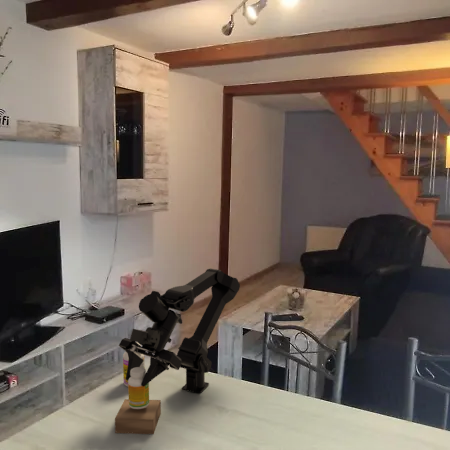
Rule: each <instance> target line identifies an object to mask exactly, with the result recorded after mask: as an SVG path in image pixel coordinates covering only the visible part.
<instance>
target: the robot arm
mask: <svg viewBox="0 0 450 450" xmlns="http://www.w3.org/2000/svg"><path fill="white" fill-rule="evenodd" d="M210 288H211V299H210V300H209V303H208V304H207V306H206V308H205V310H204V312H203V314H202V317H201V319H200V321H199V323H198V324H197V326H196V329H195V330H194V333H193V334H192V336H190V337H184V338H183V339H182V342H181V344H180V346H179V347H178V348H177V349H178V350H177V353H175V352H174V351H171V350H167V349H165V347H166V345H167V344H171V342H172V339H171V338H170V337H171V335H172V333H173V332H174V329H175V327H176V325H177V324H180V325H182V324H183V318H182V314H181V313H178V312H184V313H185V312H186V311H188V310H189V309H190V308H191V307H192V306H193V304H195V299H196V298H197V297H199V296H200V295H201V294H203V293H205V291H208V290H209V289H210ZM240 288H241V284H240V282H239V280H238V278H237V277H233V276H231V275H228V274H227V273H225V272H224V271H222V270H221V269H216V268H207V269H206V270H205V271H204V272H203V273H202V274H200V275H198V276H196V277H195V278H194V279H192V280H191V281H189V282H188V283H185V284H183V285H179V286H173V287H171V288H168V289H167V290H166V291H165V292H164V293H163V294H161V293H160V292H159V291H156V290H152V291H151V293H149V294H147V295H145V296H144V297H142V298H141V299H140V301H139V303H138V310H139V311H140V312H141V313H142V314H143V315H144V316H145V317H146V318H147V319H148V320H149V321H151V322H152V323H153V325H152V326H151V327H150V326H148V327H147V328H146V330H141V329H136V328H132V331H131V334H130V337H129V338H127V337H124V338H122V339H121V340H120V342H119V344H118V347H120V348H121V349H122V350H123V351H124V352H127V353H128V357H129V360H128V368H127V374H126V380H127V381H128V380H129V378H130V377H131V375H130V371H131V369H133V368H135V367H140V365H141V364H142V363H143V361H144V360H143V359H141V358H140V357H141V354H143V355H144V356H147V357H149V358H150V359H149V360H150V361H149V366H148V369H147V370H146V374H145V376H144V378H143V381H142V383H141V386H143V387H144V386H145V385H147V384H148V383H149V384H150V382H152V380H154V379H155V378H157V377H158V376H160V375H161V374H162V373H163V372H165V371H169V370H170V368H171V369H174V370H177V371H179V370H180V368H181V369H185V384H184V385H183V386H182V387H181V390H182V391H187V392H191V393H195V394H201V393H202V392H204V390H205V389H207V387H208V386H210V383H209V382H207V381H206V380H205V377H206V376H205V374H207V373H209V370H211V369H212V363H213V362H212V361H211V360H210V359H209V358H208V357H207V356H208V353H209V352H208V341H209V339H210V337H211V335H212V333H213V332H214V329H215V327H216V325H217V323H218V321H219V318H220V317H221V315H222V313H223V311H224V308H225V307H226V305H227V304H228V303H229V302H231V301H232V300H234V299H235V297H236V295H237V294H238V293H239V290H240ZM175 311H178V312H177V313H176V312H175ZM138 343H139V344H140V345H141V346H140V345H139V344H138Z"/></svg>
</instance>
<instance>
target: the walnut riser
mask: <svg viewBox="0 0 450 450" xmlns="http://www.w3.org/2000/svg"><path fill="white" fill-rule="evenodd" d="M161 402H162V401H161V400H160V399H149V405H148V406H147V407H145V408H142V409H133V408H131V407H130V406H129V398H128V399H124V400H123V401H122V404H121V406H120V408H119V410H118V412H117V414H116V415H115V418H114V430H115V433H114V434H135V435H137V434H138V435H154V434H155V431H156V428H157V425H158V422H159V420H160V418H161V415H162V412H161V411H162V409H161V407H162V405H161Z"/></svg>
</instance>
